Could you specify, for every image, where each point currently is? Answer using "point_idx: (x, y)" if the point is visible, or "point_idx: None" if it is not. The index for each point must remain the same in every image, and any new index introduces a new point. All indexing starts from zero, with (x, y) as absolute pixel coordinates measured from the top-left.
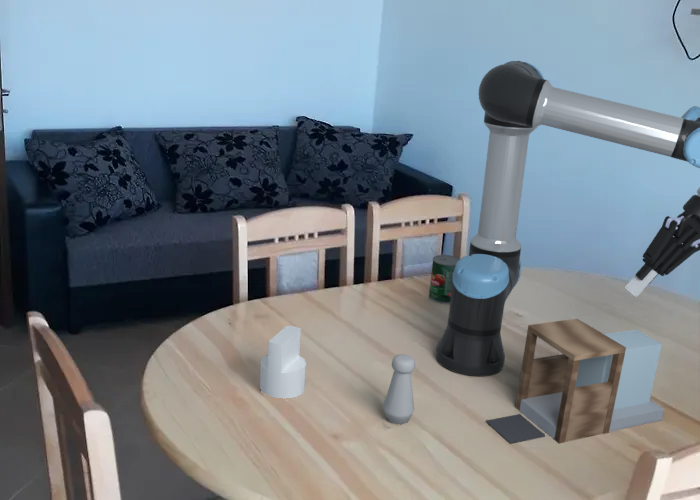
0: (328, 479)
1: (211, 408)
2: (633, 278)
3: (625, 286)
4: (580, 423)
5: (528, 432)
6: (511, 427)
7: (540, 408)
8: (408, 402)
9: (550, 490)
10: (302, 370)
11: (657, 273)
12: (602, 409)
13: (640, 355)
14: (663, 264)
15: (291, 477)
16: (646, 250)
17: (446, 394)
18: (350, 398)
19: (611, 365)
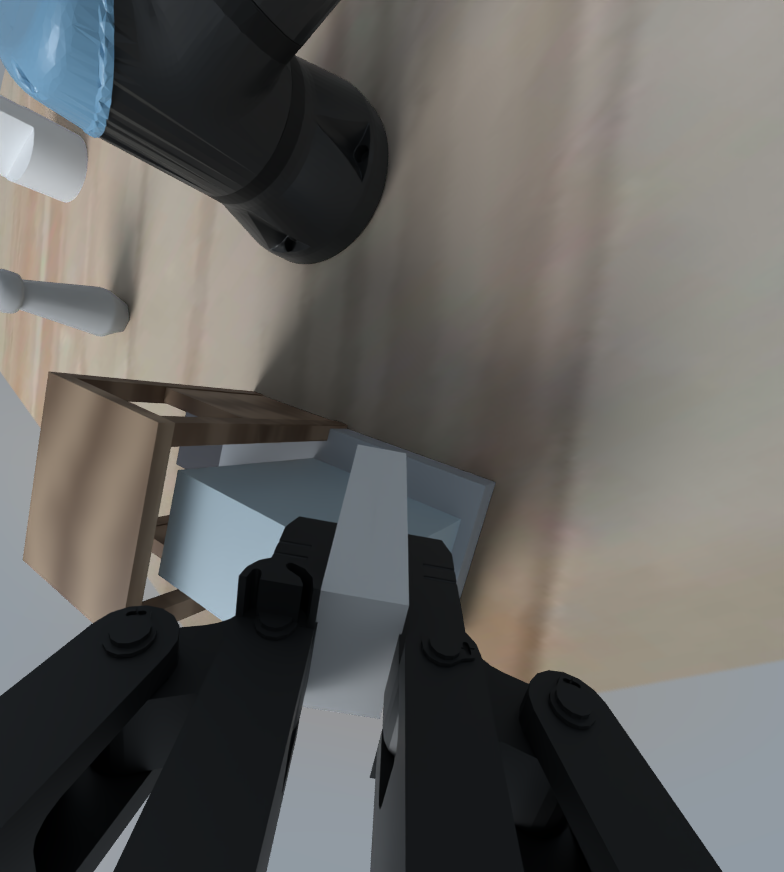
0: (30, 382)
1: (15, 187)
2: (348, 488)
3: (357, 448)
4: None
5: (210, 464)
6: None
7: (234, 448)
8: (77, 328)
9: (148, 568)
10: (26, 176)
11: (375, 714)
12: None
13: None
14: (375, 838)
15: (15, 358)
16: (19, 690)
17: (201, 288)
18: (108, 231)
19: (171, 592)
